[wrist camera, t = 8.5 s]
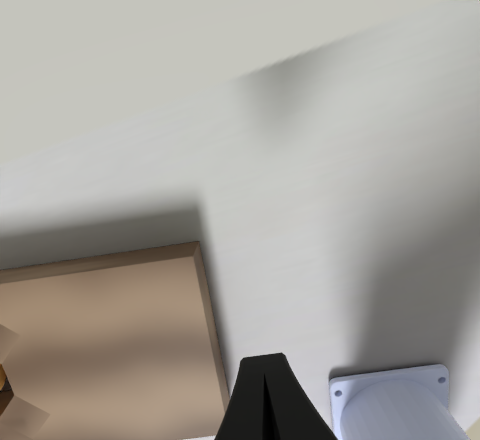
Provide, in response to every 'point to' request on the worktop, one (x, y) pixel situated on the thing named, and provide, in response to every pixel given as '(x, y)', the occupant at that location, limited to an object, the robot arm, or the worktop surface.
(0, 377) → the ball
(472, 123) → the worktop surface
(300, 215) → the worktop surface
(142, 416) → the hole board
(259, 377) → the robot arm
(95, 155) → the worktop surface
